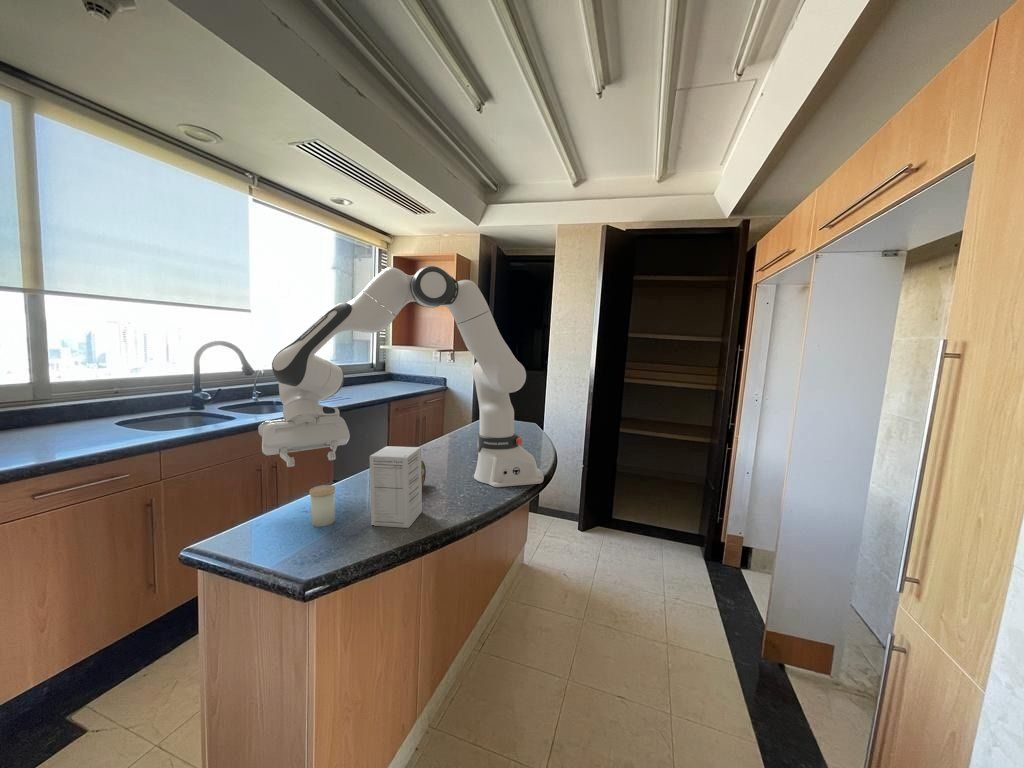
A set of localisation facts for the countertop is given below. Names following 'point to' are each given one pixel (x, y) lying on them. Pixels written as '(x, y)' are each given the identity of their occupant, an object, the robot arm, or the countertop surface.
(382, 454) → the supplement box
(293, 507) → the countertop surface
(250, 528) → the countertop surface
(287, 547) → the countertop surface
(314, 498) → the jar
